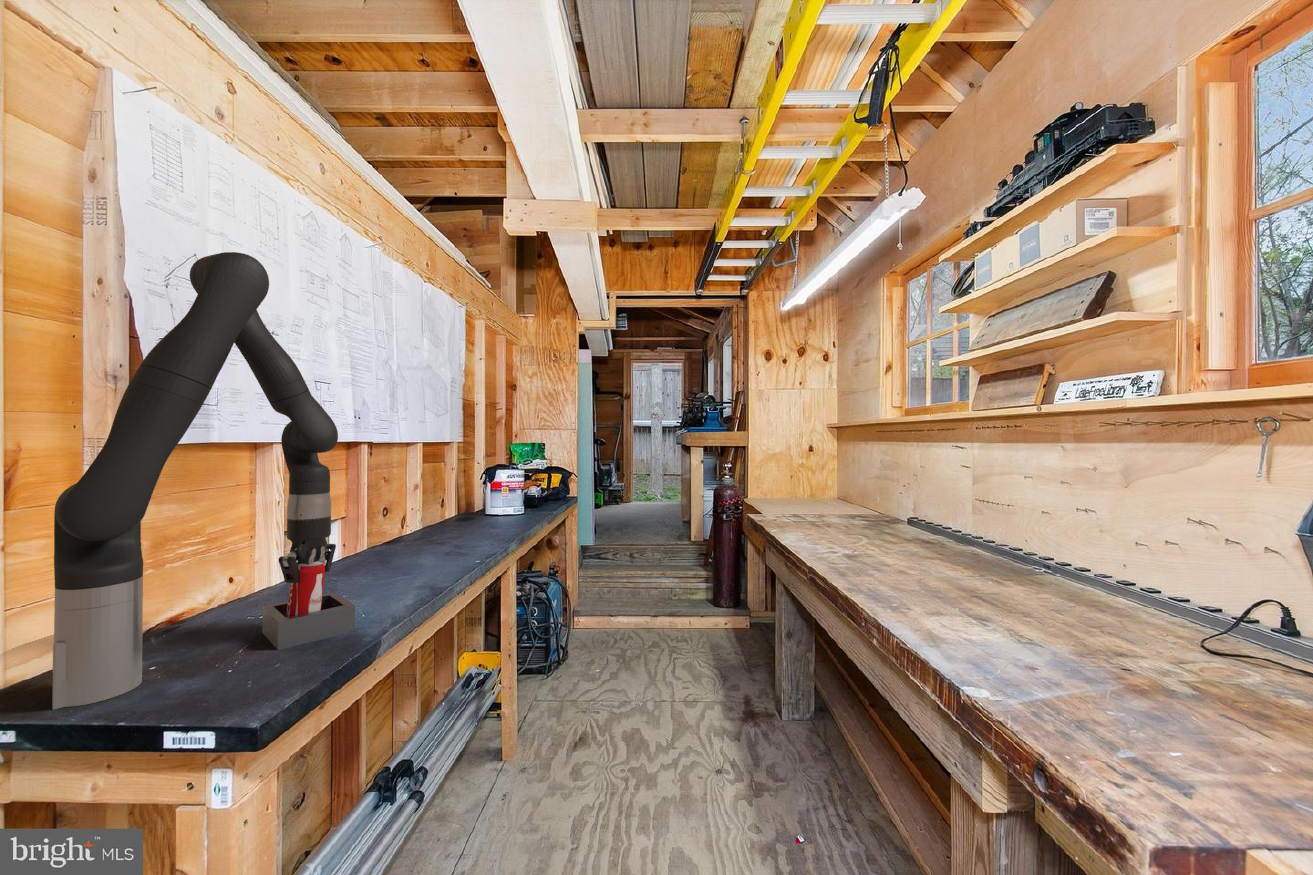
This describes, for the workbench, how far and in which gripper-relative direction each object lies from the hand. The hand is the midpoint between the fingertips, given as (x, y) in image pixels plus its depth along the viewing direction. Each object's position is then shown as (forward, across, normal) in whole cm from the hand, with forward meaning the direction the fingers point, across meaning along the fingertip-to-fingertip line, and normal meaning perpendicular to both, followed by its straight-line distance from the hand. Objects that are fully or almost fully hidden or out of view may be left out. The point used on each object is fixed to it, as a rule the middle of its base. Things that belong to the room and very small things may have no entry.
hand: (308, 597), depth 104 cm
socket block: (+8, 0, 0) cm, 8 cm away
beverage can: (+7, -2, 0) cm, 8 cm away
